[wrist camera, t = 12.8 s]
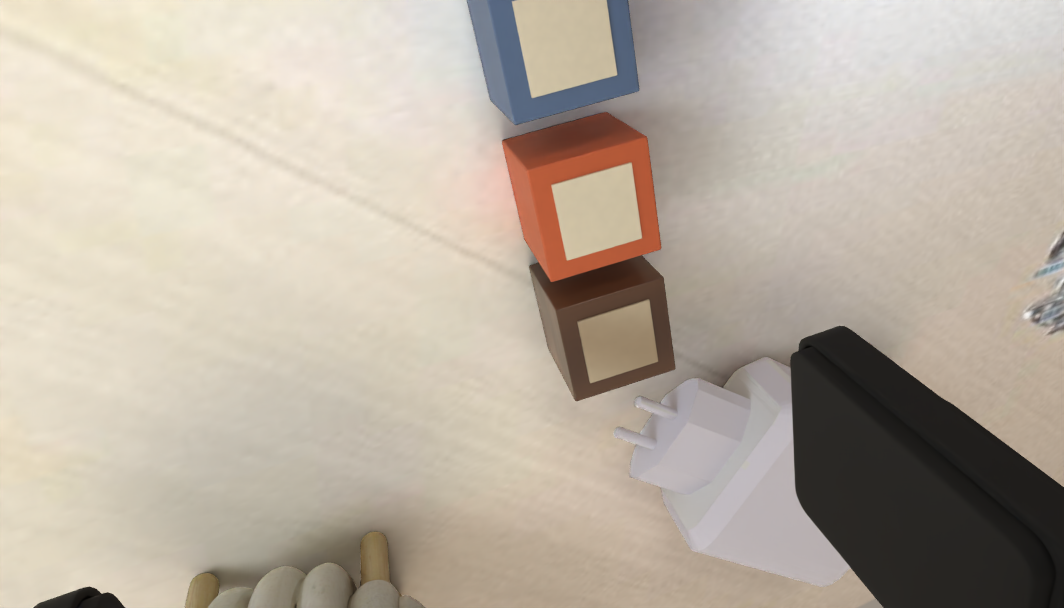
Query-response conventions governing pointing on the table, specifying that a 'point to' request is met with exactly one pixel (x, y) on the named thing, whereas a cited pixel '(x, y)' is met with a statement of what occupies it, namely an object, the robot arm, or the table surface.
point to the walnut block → (606, 325)
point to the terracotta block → (584, 194)
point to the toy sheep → (311, 586)
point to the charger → (734, 472)
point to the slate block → (554, 54)
